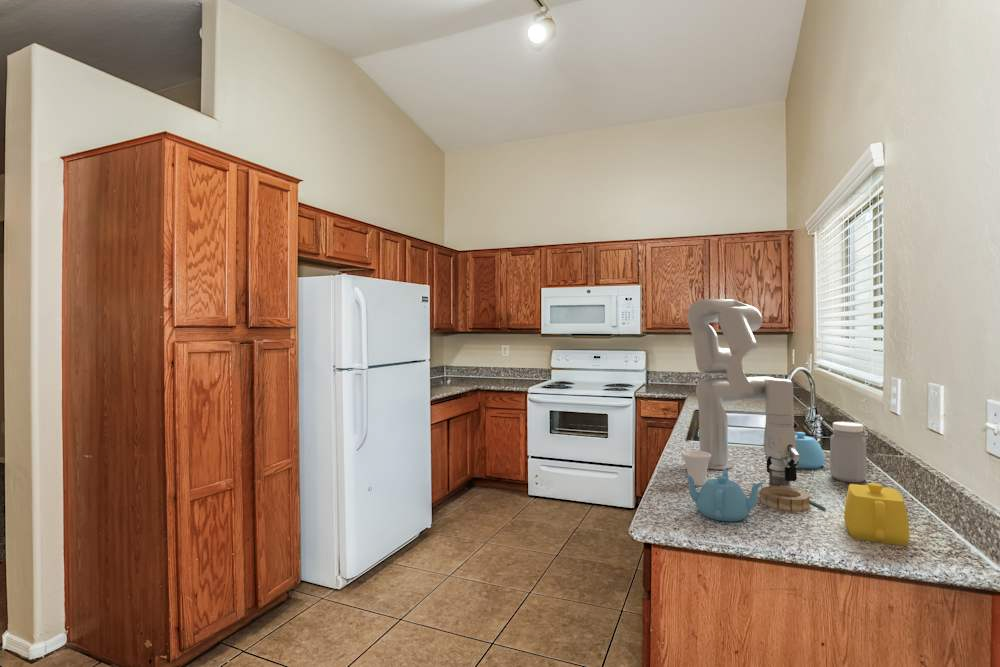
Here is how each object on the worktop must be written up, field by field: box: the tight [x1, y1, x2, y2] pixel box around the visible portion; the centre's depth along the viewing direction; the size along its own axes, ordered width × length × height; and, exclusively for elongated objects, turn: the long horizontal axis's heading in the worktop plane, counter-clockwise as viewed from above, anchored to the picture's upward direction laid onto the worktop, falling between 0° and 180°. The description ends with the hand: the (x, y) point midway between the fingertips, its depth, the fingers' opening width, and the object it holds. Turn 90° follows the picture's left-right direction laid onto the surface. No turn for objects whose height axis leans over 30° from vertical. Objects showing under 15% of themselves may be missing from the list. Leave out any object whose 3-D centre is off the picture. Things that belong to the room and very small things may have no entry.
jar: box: [829, 421, 868, 483], centre depth 170 cm, size 10×10×18 cm
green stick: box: [809, 499, 827, 511], centre depth 147 cm, size 13×1×1 cm, turn 2°
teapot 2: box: [843, 482, 910, 547], centre depth 126 cm, size 20×12×12 cm, turn 151°
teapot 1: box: [682, 469, 765, 523], centre depth 139 cm, size 15×15×10 cm
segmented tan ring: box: [759, 485, 810, 512], centre depth 147 cm, size 12×12×3 cm
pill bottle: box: [768, 457, 791, 488], centre depth 158 cm, size 6×6×10 cm
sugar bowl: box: [789, 431, 826, 470], centre depth 189 cm, size 15×15×12 cm
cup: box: [681, 449, 711, 487], centre depth 166 cm, size 9×9×10 cm
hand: (781, 476), depth 157 cm, fingers open, 9 cm apart
